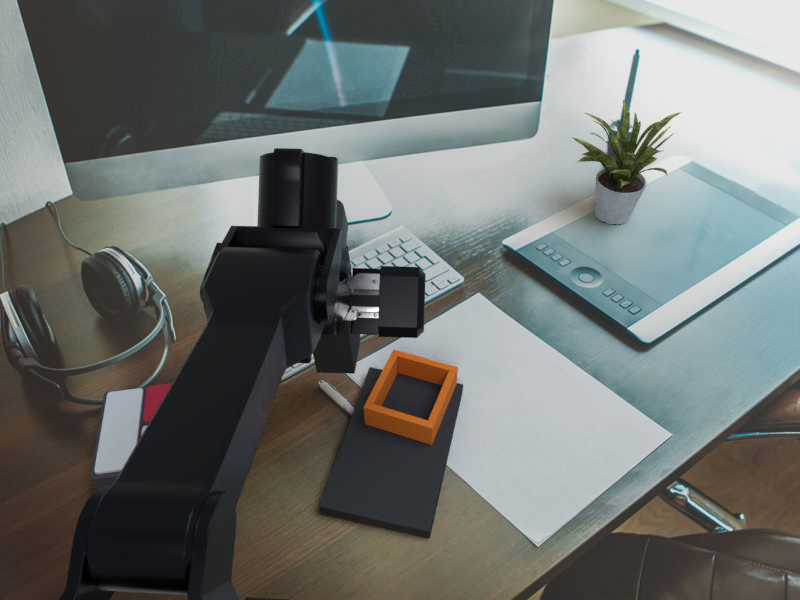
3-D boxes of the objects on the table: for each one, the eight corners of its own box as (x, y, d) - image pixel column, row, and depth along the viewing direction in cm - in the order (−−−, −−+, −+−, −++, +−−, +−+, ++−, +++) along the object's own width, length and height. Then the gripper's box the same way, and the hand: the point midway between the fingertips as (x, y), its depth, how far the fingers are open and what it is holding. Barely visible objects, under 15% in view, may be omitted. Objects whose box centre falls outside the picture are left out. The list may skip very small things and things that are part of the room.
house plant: (615, 174, 106) (638, 78, 94) (683, 216, 97) (719, 116, 86) (548, 203, 100) (565, 105, 89) (615, 250, 92) (643, 149, 80)
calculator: (246, 453, 65) (86, 475, 62) (251, 476, 67) (99, 498, 65) (244, 369, 72) (102, 386, 70) (249, 393, 75) (112, 410, 73)
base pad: (429, 539, 62) (430, 516, 59) (320, 514, 64) (315, 490, 61) (463, 387, 75) (465, 361, 72) (371, 370, 77) (369, 344, 74)
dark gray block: (354, 373, 67) (340, 280, 59) (316, 372, 68) (296, 279, 59) (360, 338, 71) (347, 245, 62) (324, 337, 71) (306, 245, 62)
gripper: (426, 196, 50) (428, 224, 66) (188, 191, 51) (246, 220, 67) (421, 341, 50) (424, 334, 65) (183, 333, 51) (242, 329, 66)
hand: (333, 301), depth 66 cm, fingers closed on dark gray block, 4 cm apart
